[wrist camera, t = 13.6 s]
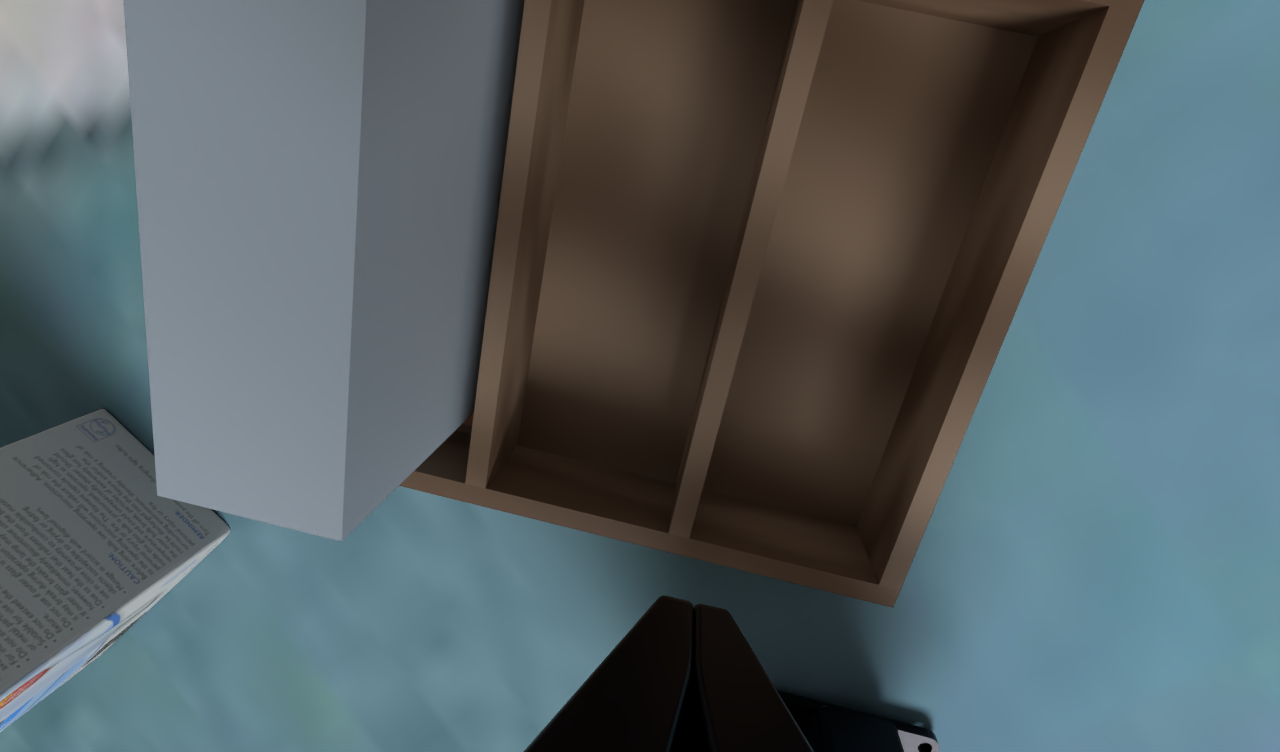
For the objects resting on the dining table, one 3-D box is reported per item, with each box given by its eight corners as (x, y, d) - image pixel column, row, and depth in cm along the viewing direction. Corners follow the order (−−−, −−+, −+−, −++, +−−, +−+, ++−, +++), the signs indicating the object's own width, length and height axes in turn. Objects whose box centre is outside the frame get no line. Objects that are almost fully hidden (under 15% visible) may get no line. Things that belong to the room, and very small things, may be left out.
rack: (864, 536, 21) (899, 622, 17) (338, 409, 22) (254, 462, 18) (1063, 11, 16) (1179, -44, 12) (362, -127, 17) (250, -220, 13)
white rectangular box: (482, 403, 20) (341, 541, 13) (365, 375, 20) (157, 495, 13) (534, -16, 16) (374, -179, 9) (388, -45, 16) (108, -230, 9)
